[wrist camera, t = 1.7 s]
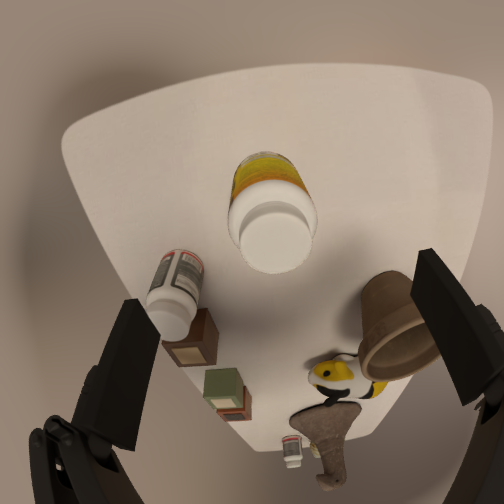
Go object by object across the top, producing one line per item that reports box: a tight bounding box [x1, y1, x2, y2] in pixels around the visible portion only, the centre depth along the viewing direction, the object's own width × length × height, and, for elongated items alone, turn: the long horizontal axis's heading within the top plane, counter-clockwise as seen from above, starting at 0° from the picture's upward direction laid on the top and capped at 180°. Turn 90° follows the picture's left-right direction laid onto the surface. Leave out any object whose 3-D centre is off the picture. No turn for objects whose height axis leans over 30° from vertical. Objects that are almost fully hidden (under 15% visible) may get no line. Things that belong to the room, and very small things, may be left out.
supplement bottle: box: [228, 152, 317, 274], centre depth 19 cm, size 6×6×10 cm
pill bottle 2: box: [283, 436, 303, 468], centre depth 60 cm, size 5×5×10 cm
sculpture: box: [289, 403, 362, 491], centre depth 45 cm, size 17×17×20 cm
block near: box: [162, 308, 219, 367], centre depth 31 cm, size 5×5×5 cm
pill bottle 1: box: [146, 250, 204, 341], centre depth 25 cm, size 5×5×8 cm
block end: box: [217, 386, 252, 422], centre depth 43 cm, size 5×5×5 cm
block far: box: [203, 368, 243, 409], centre depth 39 cm, size 5×5×5 cm
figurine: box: [308, 354, 388, 407], centre depth 36 cm, size 8×15×8 cm, turn 73°
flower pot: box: [358, 271, 441, 382], centre depth 26 cm, size 12×11×10 cm
